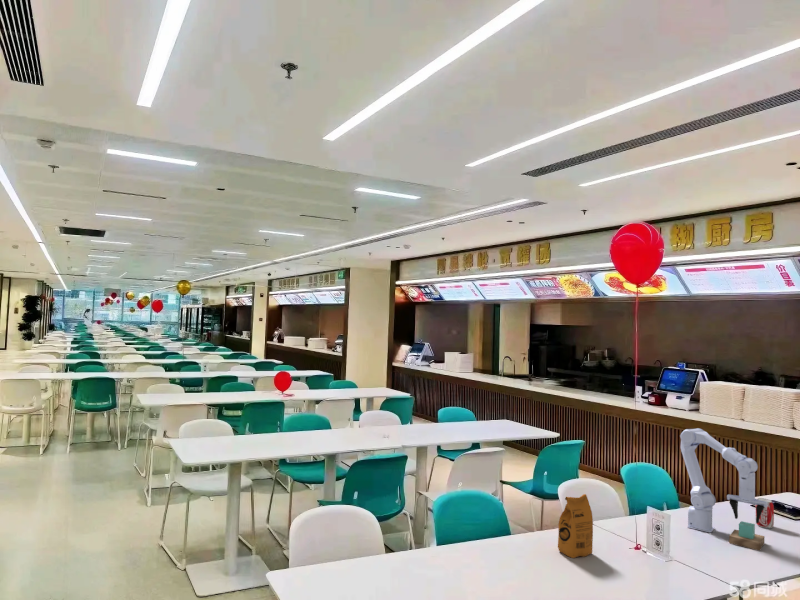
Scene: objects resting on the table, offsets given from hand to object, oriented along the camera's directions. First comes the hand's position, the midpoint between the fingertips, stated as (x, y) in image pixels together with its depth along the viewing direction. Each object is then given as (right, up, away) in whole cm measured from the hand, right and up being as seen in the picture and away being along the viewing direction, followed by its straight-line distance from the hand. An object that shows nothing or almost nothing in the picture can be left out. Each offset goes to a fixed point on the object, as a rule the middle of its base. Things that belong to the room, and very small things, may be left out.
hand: (746, 520), depth 237 cm
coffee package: (-78, -6, -17) cm, 80 cm away
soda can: (+22, -11, +21) cm, 33 cm away
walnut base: (0, -9, -1) cm, 9 cm away
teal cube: (0, -6, 0) cm, 6 cm away
